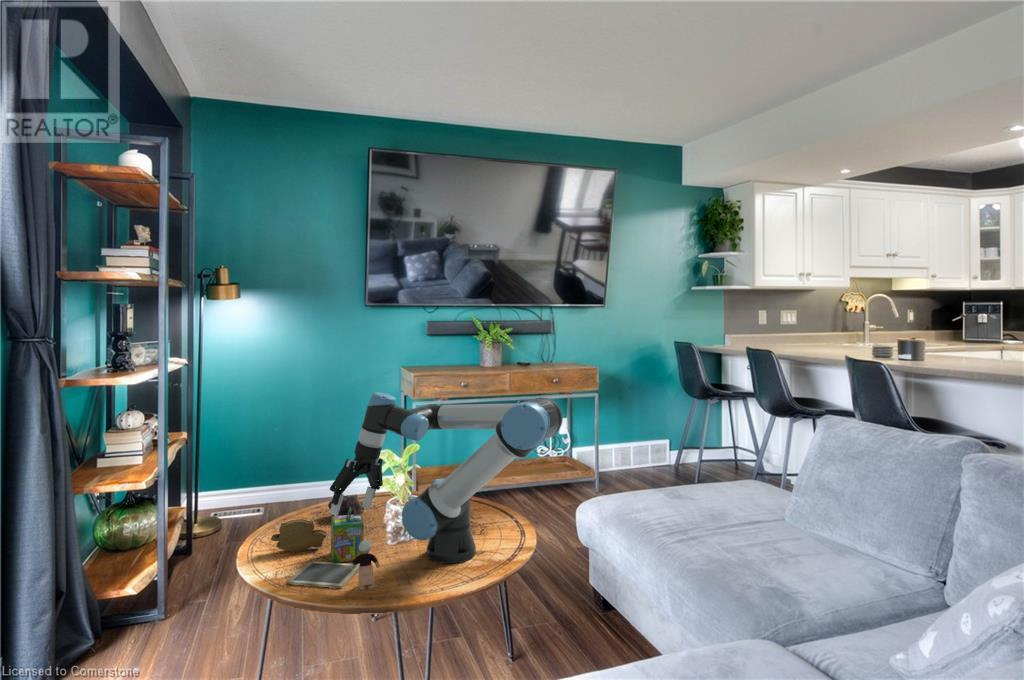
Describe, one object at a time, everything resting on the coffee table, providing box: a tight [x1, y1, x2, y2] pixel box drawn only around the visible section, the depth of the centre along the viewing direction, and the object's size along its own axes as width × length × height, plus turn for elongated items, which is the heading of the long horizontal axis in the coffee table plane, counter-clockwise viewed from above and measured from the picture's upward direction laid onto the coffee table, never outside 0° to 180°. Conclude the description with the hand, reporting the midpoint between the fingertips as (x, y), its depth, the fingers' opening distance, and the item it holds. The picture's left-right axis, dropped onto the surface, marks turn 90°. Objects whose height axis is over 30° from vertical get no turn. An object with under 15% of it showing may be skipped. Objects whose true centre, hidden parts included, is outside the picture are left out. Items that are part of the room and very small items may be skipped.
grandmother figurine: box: [350, 539, 381, 591], centre depth 155 cm, size 8×4×13 cm, turn 118°
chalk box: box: [330, 507, 365, 563], centre depth 176 cm, size 9×9×15 cm
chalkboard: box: [285, 560, 360, 590], centre depth 162 cm, size 16×14×1 cm
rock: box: [327, 494, 365, 517], centre depth 211 cm, size 12×9×10 cm
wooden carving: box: [270, 518, 327, 553], centre depth 181 cm, size 16×5×10 cm, turn 109°
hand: (350, 511), depth 172 cm, fingers open, 13 cm apart
